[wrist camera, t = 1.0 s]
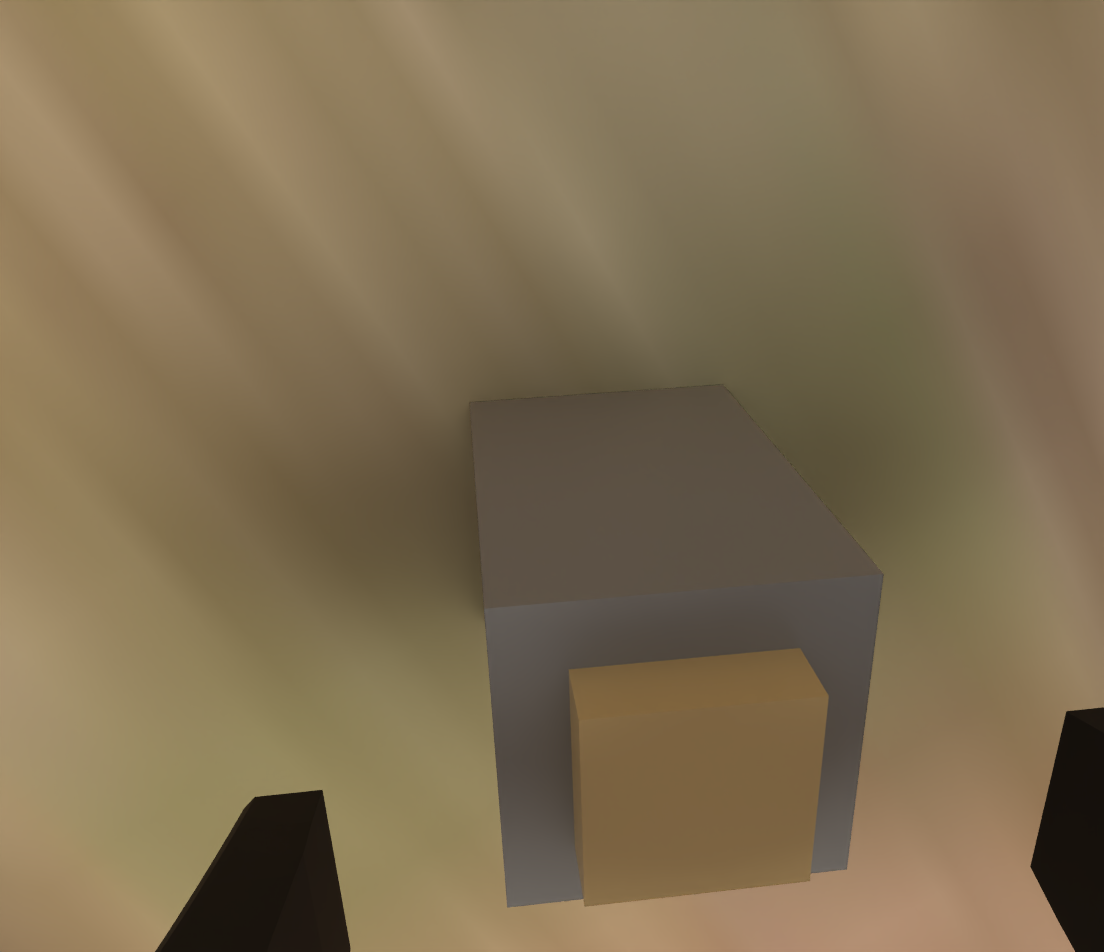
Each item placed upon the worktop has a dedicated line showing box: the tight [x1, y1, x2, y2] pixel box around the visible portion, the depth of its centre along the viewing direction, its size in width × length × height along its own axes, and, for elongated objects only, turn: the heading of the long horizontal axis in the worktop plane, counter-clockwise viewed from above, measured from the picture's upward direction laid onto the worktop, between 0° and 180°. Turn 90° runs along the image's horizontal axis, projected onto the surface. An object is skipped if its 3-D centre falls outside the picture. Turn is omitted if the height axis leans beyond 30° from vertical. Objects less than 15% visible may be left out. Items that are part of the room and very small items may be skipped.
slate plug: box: [470, 384, 883, 907], centre depth 12 cm, size 4×4×7 cm
